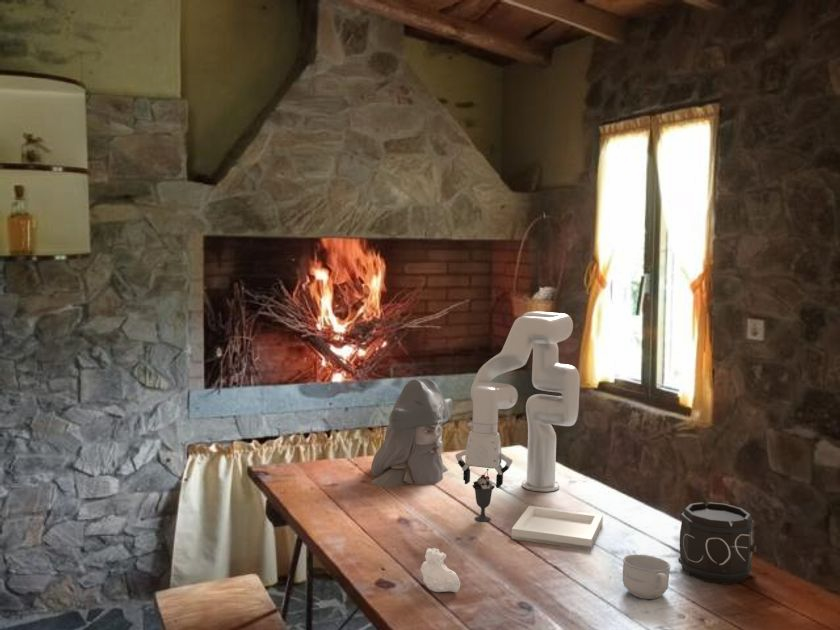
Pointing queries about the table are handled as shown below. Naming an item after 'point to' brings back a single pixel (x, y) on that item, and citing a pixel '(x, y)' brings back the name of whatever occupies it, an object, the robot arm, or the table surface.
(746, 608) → the table surface
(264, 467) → the table surface
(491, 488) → the sundae
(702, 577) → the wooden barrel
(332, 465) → the table surface
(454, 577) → the cream lumpy figure
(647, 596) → the teacup
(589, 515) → the tray
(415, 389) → the bust
